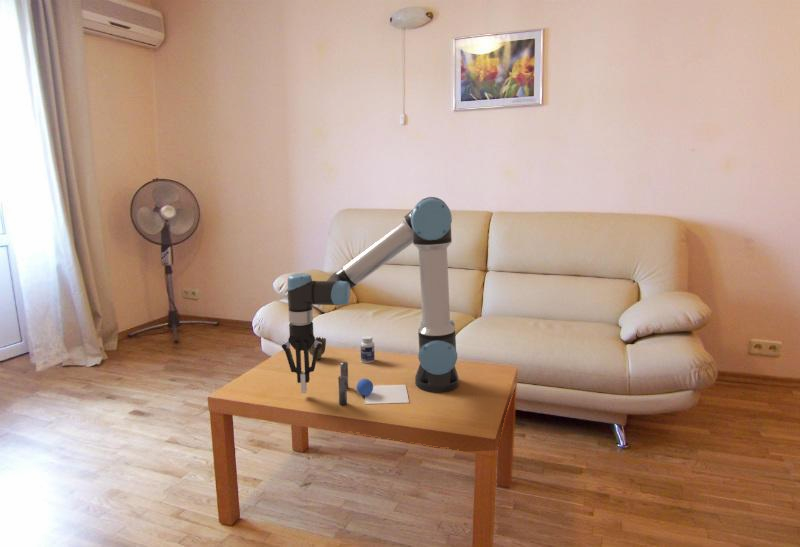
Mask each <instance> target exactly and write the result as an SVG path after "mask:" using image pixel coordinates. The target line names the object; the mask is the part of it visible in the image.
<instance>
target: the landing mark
mask: <svg viewBox="0 0 800 547" xmlns="http://www.w3.org/2000/svg"><path fill="white" fill-rule="evenodd" d="M409 403H410V401H409V396H408V389H407V385H406V384H388V385H387V384H384V385H383V384H382V385H381V384H379V385H373V391H372V392H371V393H370V394H369V395H367V396H364V405H384V404H409Z"/></svg>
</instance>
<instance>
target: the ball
mask: <svg viewBox="0 0 800 547" xmlns="http://www.w3.org/2000/svg"><path fill="white" fill-rule="evenodd" d="M373 386H374V383H373V382H372V381H371V380H370V379H368V378H362V379H360V380H358V382H357V384H356V391H357V393H358V394H359V395H361V396H364V397H365V396H367V395H369V394H370V393H371V392H372V391H373Z"/></svg>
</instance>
